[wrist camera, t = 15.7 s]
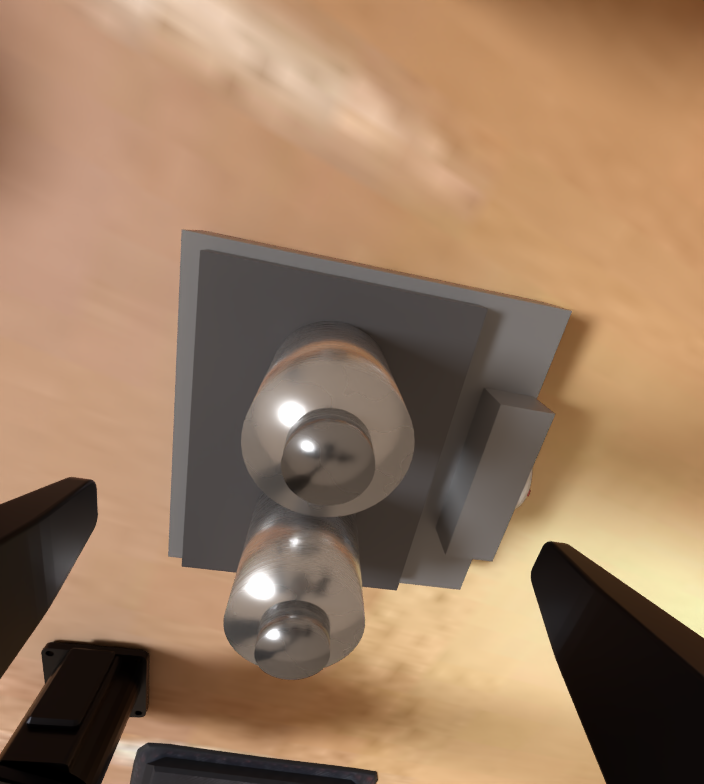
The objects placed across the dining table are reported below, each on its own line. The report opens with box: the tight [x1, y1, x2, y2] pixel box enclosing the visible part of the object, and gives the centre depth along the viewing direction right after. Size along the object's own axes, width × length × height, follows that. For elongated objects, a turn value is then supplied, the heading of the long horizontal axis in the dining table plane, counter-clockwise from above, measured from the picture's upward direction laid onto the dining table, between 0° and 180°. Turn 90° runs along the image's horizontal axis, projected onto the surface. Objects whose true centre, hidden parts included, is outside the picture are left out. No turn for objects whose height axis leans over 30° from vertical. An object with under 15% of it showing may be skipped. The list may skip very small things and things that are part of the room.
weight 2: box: [224, 492, 365, 680], centre depth 16 cm, size 5×5×7 cm
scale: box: [168, 230, 572, 590], centre depth 19 cm, size 16×16×4 cm
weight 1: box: [241, 321, 415, 517], centre depth 13 cm, size 5×5×7 cm
